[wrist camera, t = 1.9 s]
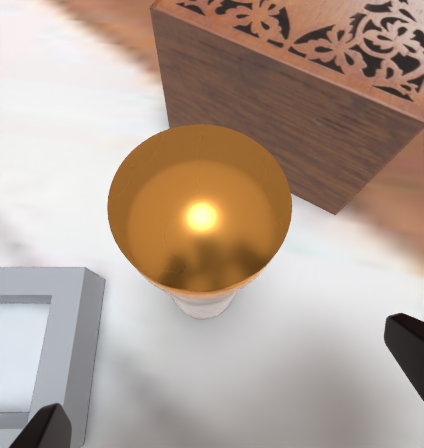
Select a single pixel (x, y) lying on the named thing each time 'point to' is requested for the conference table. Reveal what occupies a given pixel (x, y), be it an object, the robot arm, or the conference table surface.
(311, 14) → the tissue box cover
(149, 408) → the conference table surface
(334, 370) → the conference table surface
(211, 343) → the conference table surface
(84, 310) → the grey square hollow block
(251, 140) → the gold-capped bottle
